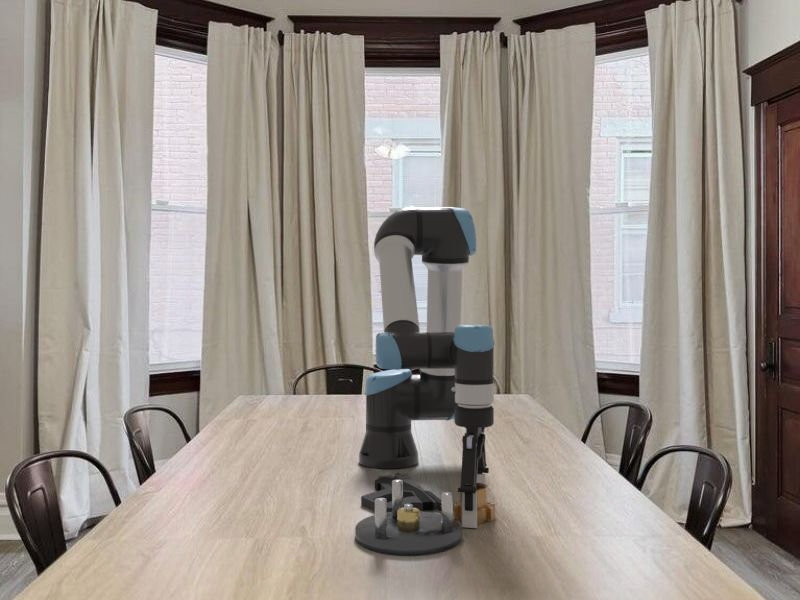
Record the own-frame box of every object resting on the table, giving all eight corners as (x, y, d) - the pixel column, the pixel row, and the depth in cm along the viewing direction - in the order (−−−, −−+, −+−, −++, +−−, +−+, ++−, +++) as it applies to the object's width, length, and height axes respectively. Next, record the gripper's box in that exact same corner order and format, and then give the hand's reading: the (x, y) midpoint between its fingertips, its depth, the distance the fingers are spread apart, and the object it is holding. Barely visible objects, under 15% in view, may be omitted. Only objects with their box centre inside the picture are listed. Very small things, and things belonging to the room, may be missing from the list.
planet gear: (457, 509, 141) (457, 479, 141) (496, 512, 139) (496, 482, 139) (450, 522, 134) (450, 490, 134) (492, 525, 132) (492, 493, 132)
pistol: (371, 509, 136) (445, 502, 140) (345, 475, 160) (408, 470, 164) (371, 521, 136) (445, 514, 140) (345, 485, 161) (409, 480, 165)
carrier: (371, 515, 138) (371, 474, 138) (468, 522, 133) (468, 480, 133) (341, 550, 119) (340, 503, 119) (452, 560, 115) (452, 511, 115)
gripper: (463, 395, 149) (463, 497, 149) (443, 414, 125) (444, 535, 125) (499, 396, 147) (499, 499, 147) (486, 416, 123) (486, 539, 124)
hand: (474, 516), depth 136 cm, fingers open, 12 cm apart
